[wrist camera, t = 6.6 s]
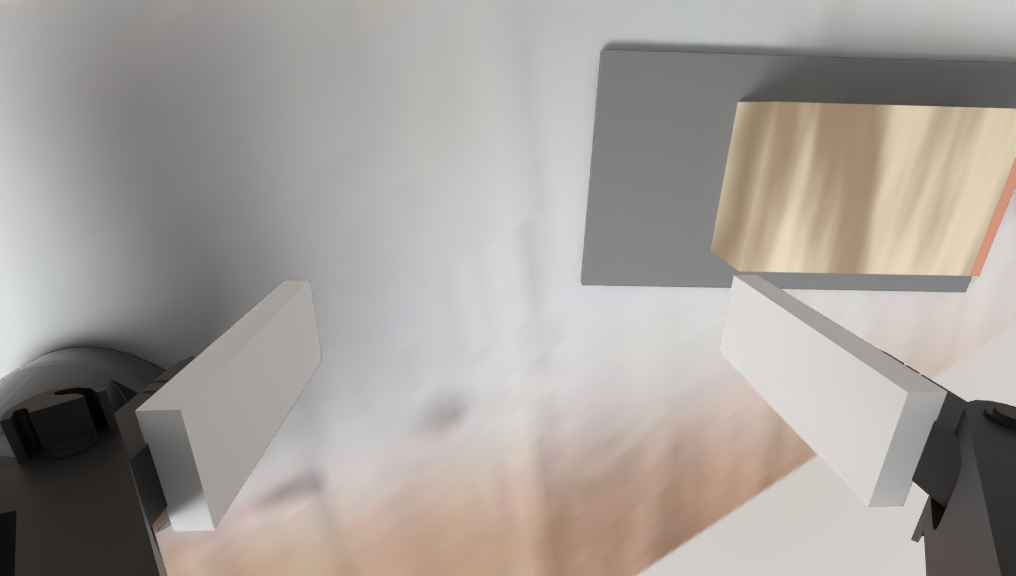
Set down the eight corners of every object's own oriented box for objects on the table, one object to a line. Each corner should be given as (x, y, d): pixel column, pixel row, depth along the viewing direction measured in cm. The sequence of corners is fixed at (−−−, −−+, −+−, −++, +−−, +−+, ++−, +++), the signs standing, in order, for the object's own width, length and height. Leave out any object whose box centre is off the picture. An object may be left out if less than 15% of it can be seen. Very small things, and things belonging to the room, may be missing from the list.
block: (739, 271, 27) (979, 276, 28) (774, 101, 24) (1045, 109, 24) (710, 251, 31) (921, 255, 31) (737, 102, 28) (973, 108, 28)
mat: (580, 281, 32) (582, 285, 32) (600, 50, 27) (602, 49, 27) (957, 289, 33) (965, 292, 32) (1044, 64, 28) (1056, 64, 27)
